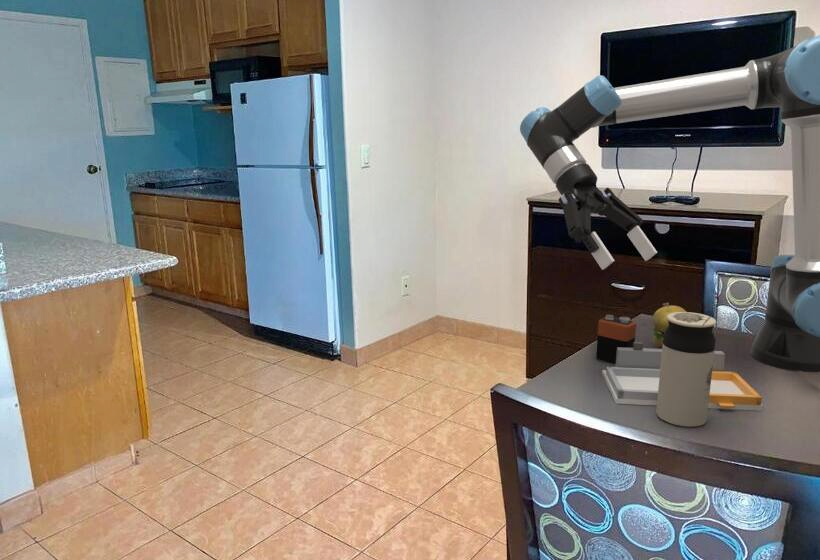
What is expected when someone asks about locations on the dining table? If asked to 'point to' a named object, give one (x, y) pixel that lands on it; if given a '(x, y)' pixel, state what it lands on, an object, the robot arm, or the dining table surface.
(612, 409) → the dining table surface
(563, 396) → the dining table surface
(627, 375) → the grey orange flat box
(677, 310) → the hamburger
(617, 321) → the battery
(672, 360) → the travel mug
